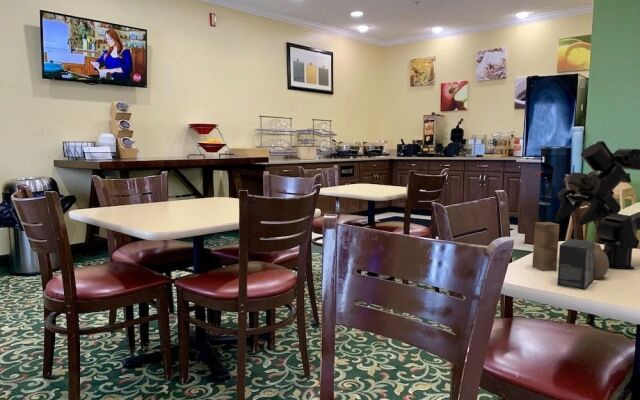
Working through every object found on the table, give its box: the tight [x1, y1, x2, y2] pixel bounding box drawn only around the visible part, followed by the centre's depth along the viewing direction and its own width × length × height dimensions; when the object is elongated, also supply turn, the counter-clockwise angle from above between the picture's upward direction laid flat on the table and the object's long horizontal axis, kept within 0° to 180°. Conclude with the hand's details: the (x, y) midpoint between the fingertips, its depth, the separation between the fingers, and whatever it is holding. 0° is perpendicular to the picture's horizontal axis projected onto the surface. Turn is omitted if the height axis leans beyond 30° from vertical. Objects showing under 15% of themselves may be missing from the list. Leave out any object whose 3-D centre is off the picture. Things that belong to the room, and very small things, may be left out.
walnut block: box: [531, 221, 560, 272], centre depth 131 cm, size 4×4×13 cm
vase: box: [593, 243, 610, 280], centre depth 123 cm, size 7×7×9 cm
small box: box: [557, 238, 596, 291], centre depth 117 cm, size 11×6×10 cm, turn 141°
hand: (567, 222), depth 131 cm, fingers open, 9 cm apart
